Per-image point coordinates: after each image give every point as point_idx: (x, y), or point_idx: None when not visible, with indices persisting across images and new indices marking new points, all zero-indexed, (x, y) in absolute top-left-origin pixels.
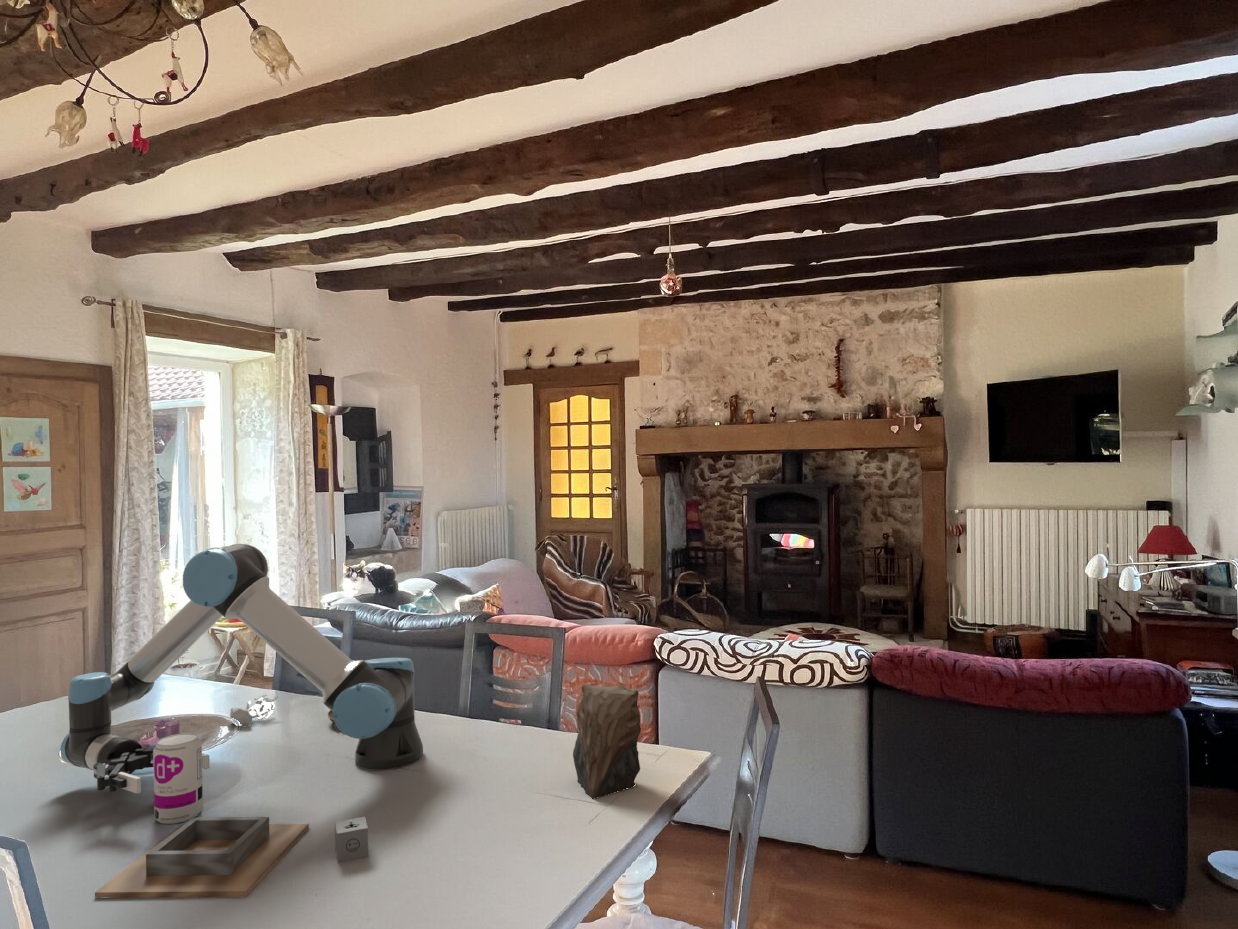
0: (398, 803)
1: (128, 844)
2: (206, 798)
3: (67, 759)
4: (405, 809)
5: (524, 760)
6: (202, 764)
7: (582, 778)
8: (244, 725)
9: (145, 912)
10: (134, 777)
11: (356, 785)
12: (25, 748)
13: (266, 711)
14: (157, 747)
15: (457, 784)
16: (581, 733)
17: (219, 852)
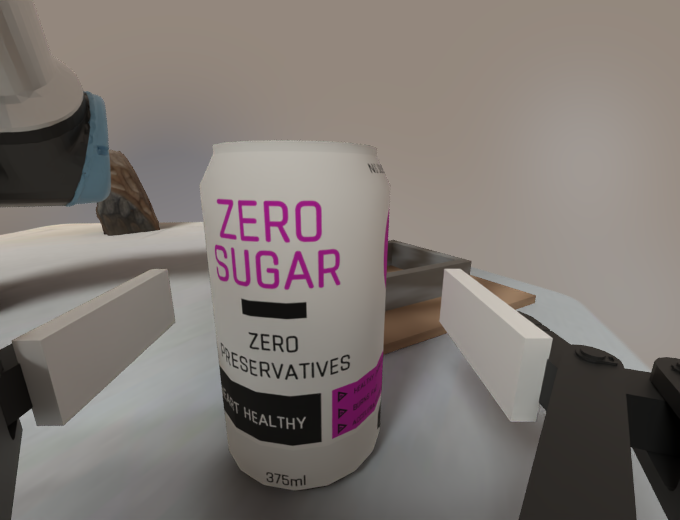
0: (170, 265)
1: (478, 387)
2: (124, 492)
3: None
4: (189, 259)
5: (23, 253)
6: (159, 317)
7: (133, 224)
8: None
9: (477, 272)
10: (465, 276)
11: (81, 301)
12: None
13: None
14: (379, 163)
15: (106, 258)
16: (118, 188)
17: (400, 242)
